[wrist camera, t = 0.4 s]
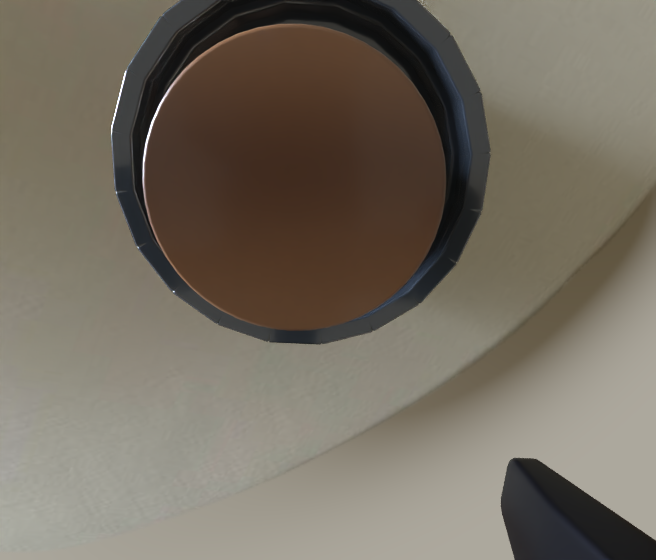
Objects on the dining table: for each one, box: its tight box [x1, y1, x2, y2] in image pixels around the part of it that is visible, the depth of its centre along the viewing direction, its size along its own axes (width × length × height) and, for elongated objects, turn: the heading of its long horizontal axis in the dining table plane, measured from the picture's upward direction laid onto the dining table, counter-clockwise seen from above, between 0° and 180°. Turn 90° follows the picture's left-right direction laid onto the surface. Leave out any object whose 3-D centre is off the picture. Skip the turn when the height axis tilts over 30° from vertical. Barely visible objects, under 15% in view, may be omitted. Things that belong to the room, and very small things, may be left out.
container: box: [111, 0, 490, 344], centre depth 16 cm, size 9×9×9 cm
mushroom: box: [143, 24, 446, 331], centre depth 11 cm, size 5×5×6 cm
